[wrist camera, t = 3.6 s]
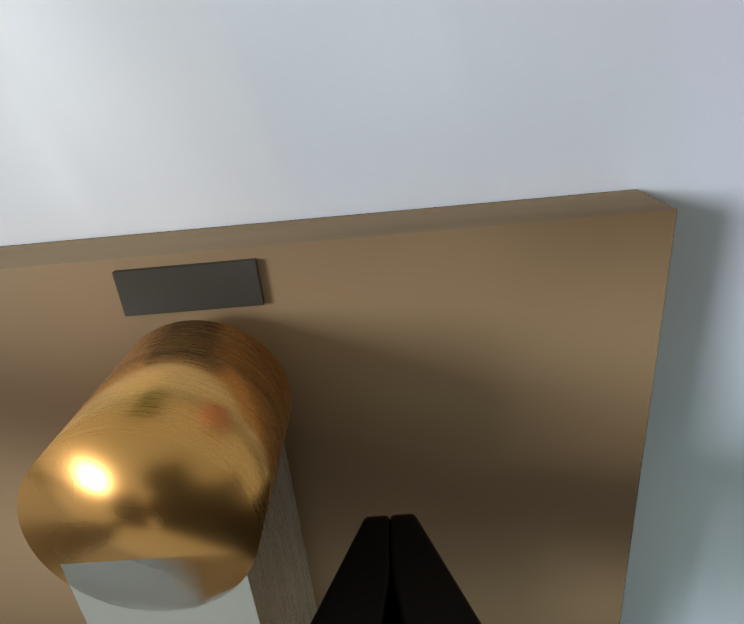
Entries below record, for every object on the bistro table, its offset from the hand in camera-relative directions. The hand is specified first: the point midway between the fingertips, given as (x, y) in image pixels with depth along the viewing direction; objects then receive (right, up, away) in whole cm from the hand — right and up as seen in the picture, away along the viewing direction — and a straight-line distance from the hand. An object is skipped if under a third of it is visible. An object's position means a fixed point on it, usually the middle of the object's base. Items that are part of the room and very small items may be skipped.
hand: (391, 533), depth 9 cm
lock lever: (-3, -3, +3) cm, 5 cm away
